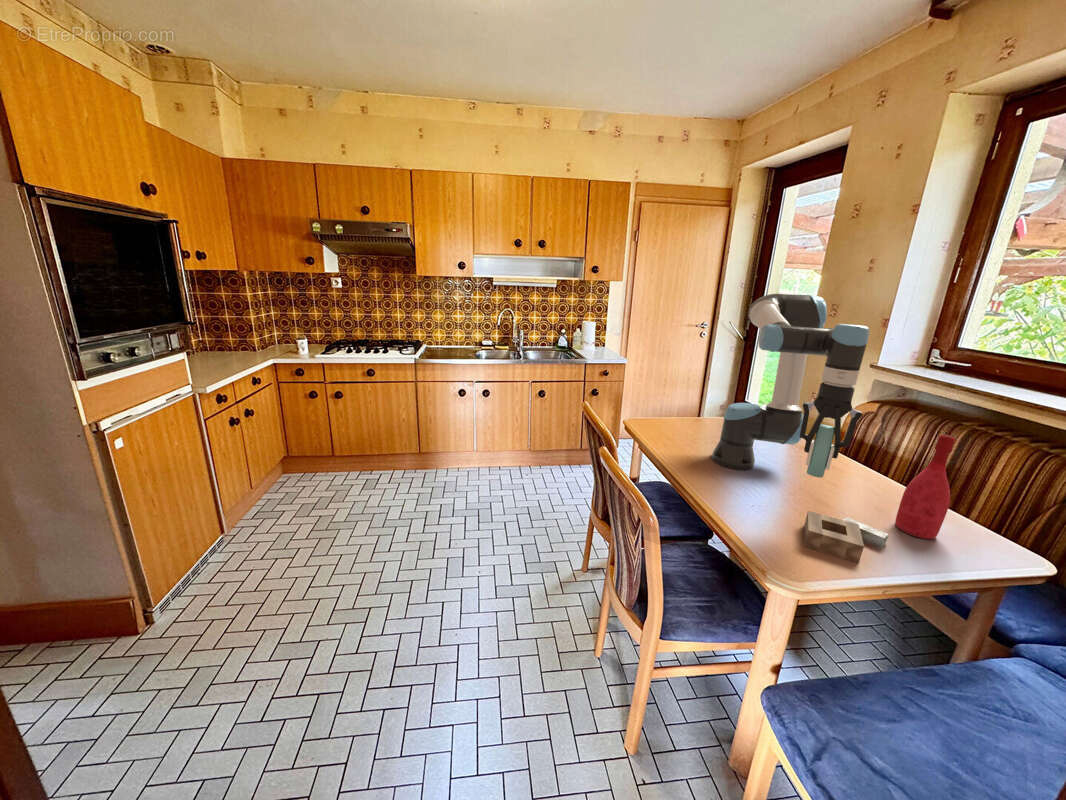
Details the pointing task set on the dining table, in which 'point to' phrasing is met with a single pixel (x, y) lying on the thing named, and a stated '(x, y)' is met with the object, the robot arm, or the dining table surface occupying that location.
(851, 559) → the socket block
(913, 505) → the wine bottle
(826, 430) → the peg
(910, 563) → the dining table surface
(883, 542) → the grey bar
